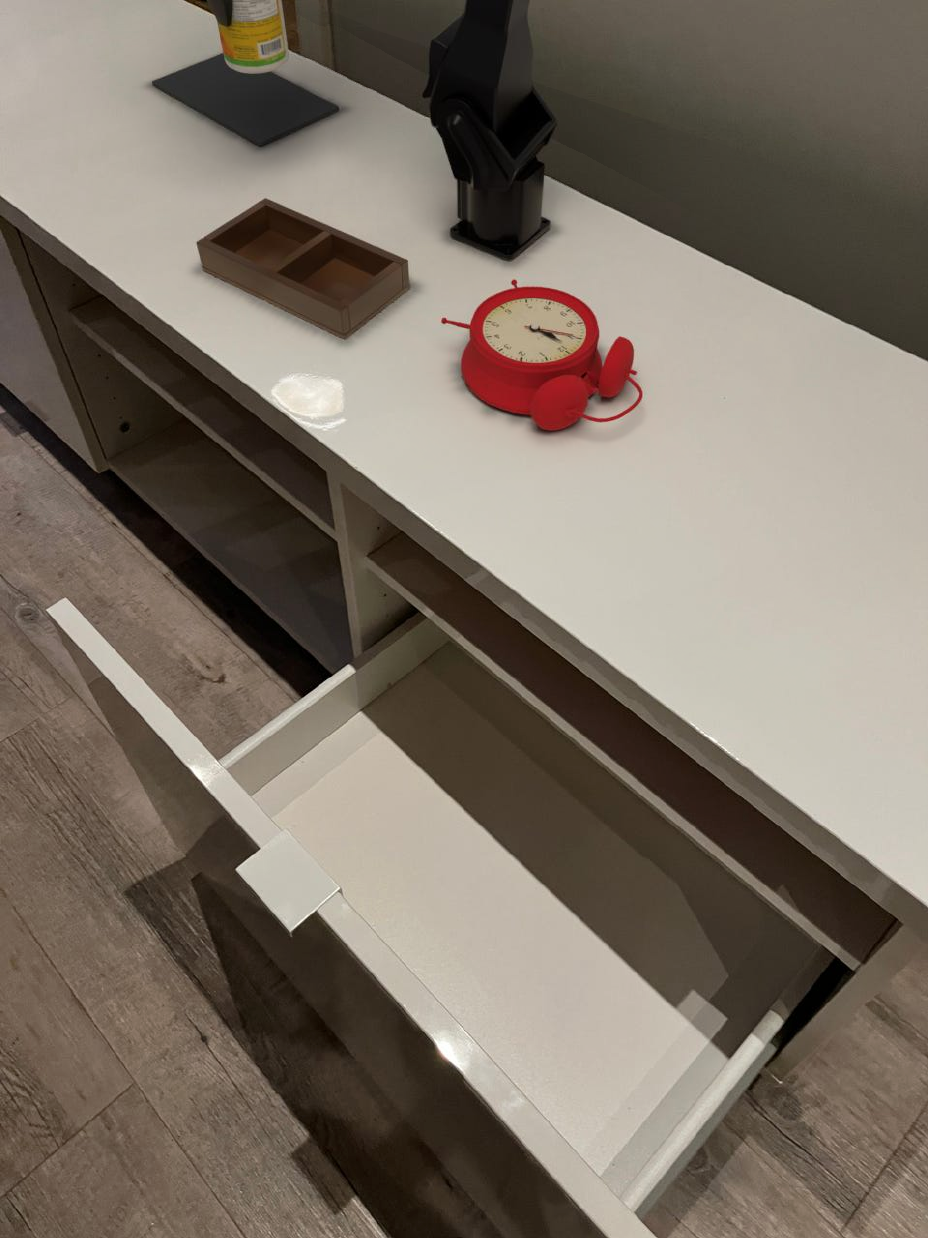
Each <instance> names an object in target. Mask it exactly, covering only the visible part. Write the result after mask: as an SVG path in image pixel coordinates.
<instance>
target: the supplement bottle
mask: <svg viewBox="0 0 928 1238" xmlns="http://www.w3.org/2000/svg"><path fill="white" fill-rule="evenodd" d="M232 3H233V9H232V24H231V26H229V27H225V26H223V25H220V24H219V23H218V21H217V20H216V24H217V28H218V33H219V39H220V43H221V48H222V53H223V54H224V58H225V61H226V63H227V65H228V66H229V67H230V68H232V69H234V70H235V71H238V72H241V73H249V74H257V73H265V72H270V71H271V72H273V71H276V70H278V69H280V68H282V67H283V66H285V65H286V64H287V62H288V60H289V58H290V50H289V43H288V35H287V28H286V23H285V15H284V8H283V7H284V6H283V0H232Z"/></svg>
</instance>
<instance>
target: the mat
mask: <svg viewBox="0 0 928 1238" xmlns="http://www.w3.org/2000/svg"><path fill="white" fill-rule="evenodd" d="M151 85H152V86H153V87H155V88H156V89H158V90H160V91H162V92H164V93H165V94H167V95H169V96H171V97H172V98H173V99H176V100H177V101H179V102H181V103H182V104H184V105H186V106H188V107H190V108H191V109H193V110H194V111H196V112H198V113H200V114H201V115H203V116H205V117H207V118H208V119H210V120H211V121H214V122H216V123H218V124H219V125H221V126H223V127H225V128H226V129H228V130H230V131H232V132H233V133H235V134H236V135H239V136H240V137H242V138H244V139H246V140H247V141H249V142H251V143H253V144H254V145H256V146H257V147H260V148H261V147H263V146H266V145H267V144H271V143H272V142H274V141H276V140H278V139H280V138H281V139H282V138H284V137H285V136H287V135H290V134H292V133H294V132H297V131H298V130H300V129H302V128H305V127H307V126H309V125H311V124H313V123H315V122H317V121H320V120H322V119H324V118H326V117H328V116H331V115H333V114H335V113H337V112H339V111H340V106H338V105H336V104H335V103H333V102H331V101H329V100H328V99H325V98H323V97H321V96H319V95H317V94H316V93H313V92H311V91H310V90H308V89H306V88H304V87H302V86H300V85H297V84H296V83H294V82H292V81H291V80H288V79H286V78H284V77H282V76H280V75H279V74H277V73H275V72H273V71H270V72H265V73H257V74H249V73H241V72H238V71H235V70H234V69H232V68H230V67H229V66H228V65H227V63H226V61H225V58H224V54H223V52H222V53H220V54H216V55H214V56H212V57H209V58H207V59H204V60H201V61H199V62H197V63H194V64H192V65H189V66H187V67H184V68H181V69H179V70H177V71H174V72H172V73H169V74H167V75H164V76H162V77H159V78H156V79H155V80H152V81H151Z"/></svg>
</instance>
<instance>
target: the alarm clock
mask: <svg viewBox="0 0 928 1238" xmlns="http://www.w3.org/2000/svg"><path fill="white" fill-rule="evenodd" d="M510 284H511V285H512V286H513V288H508V289H505V290H501V291H499V292H496V293H495V294H493V295H490V296H489V297H487V298H486V299H485V300H483V301H481V303H480V304H479V305H478V306H477V308H476V309H475V310H474V312H473V315H472V317H471V320H470V323H469V324H468V323H464V322H460V321H454V320H448V319H447V317H442V318H441V321H440V323H441V324H442V325H446V324H449V325H453V326H456V327H458V328H462V329H467V330H468V331H469V341H468V342H467V344H466V345H465V347H464V349H463V352H462V355H461V362H460V364H461V365H460V369H461V374H462V378H463V380H464V382H465V384H466V386H467V387H468V389H469V390H470V391H471V392H472V393H473V394H474V395H475V396H476V397H478V399H480V400H481V401H483V402H485V403H486V404H487V405H490V406H492V407H495V408H497V409H499V410H502V411H506V412H510V413H513V414H520V415H530V417H531V419H532V420H533V422H534V424H535V425H536V426H538V427H539V429H542V430H546V431H551V432H552V431H559V430H563V429H565V428H568V427H569V426H572V425H573V424H575V423H576V422H577V421H578V420H579V419H580V418H583V419H585V420H587V421H590V422H595V423H607V422H612V421H615V420H618V419H620V418H622V417H625V416H626V415H627V414H629V413H631V412H632V411H633V410H634V409H635V408H636V407H638V405H639V404H640V402H642V399H643V396H644V395H643V394H644V393H643V390H642V387H641V386H640V384H638V383H637V382H636V381H635V380H634V379H633V378H631V376H630V375H633V376H636V375H637V373H638V371H637V370H634V369H632V368H633V365H634V359H635V347H634V345H633V343H632V341H631V339H628V338H626V337H624V336H620V335H619V336H618V337H616V339H615V340H614V341H613V343H612V345H611V346H610V348H609V350H608V352H607V354H606V356H605V359H604V361H603V359H602V356H601V353H600V351H599V349H598V345H599V340H600V327H599V322H598V319H597V317H596V315H595V313H594V311H593V310H592V308H591V307H589V306H588V304H587V303H585V302H584V301H582V300H581V299H580V298H578V297H576V296H575V295H572V294H570V293H568V292H566V291H563V290H559V289H555V288H551V287H545V286H518V280H517V279H515V278H514V279H512V280H511V282H510ZM627 381H628V382H630V384H632V385H633V386H634V388H635V389H636V390H637V392H638V397H637V399H636V401H635V402H634V403H633V404H632V405H631V406H629V407H628V408H627V409H625V410H624V411H622V412H620V413H618V414H616V415H612V416H609V417H600V418H599V417H594V416H592V415H591V416H590V415H587V414H585V413H584V412H585V411H586V408H587V406H588V401H589V397H590V396H592V395H594V394H595V393H596V392H598V396H600V397H603V398H613V397H615V396H617V395H618V394H619V393H621V391H622V389H623V388H624V386H625V385H626V383H627Z"/></svg>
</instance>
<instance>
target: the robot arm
mask: <svg viewBox="0 0 928 1238" xmlns="http://www.w3.org/2000/svg"><path fill="white" fill-rule="evenodd" d="M206 3H207V4H208V6H209V8H210V10H211V11H212V14H213V16H214V17H215V20H216V22H217V21H218V23H219V24H220V25H223V26H225V27H229V26H231V24H232V9H233V3H232V0H206ZM529 6H530V0H464V6H463V12H462V13H461V14H460V15H459V16H457V18H455V19H454V20H452V22H450V23H449V24H448V25H447V26H446V27H445V28H443V30H442V31H441V32H439V33H438V34H437V35H435V37H434V38H433V39H431V41H430V43H429V44H430V45H429V51H428V69H429V70H428V72H429V73H428V79H427V83H426V86H425V88H424V90H423V92H422V94H421V96H422V98H423V99H429V104H428V116H429V120H430V124H431V127H433V128H434V129H435V130H436V132H437V133H438V134H437V135H439V137H440V139H441V141H442V142H441V143H442V144H443V148H444V151H445V154H446V157H447V160H448V163H449V167H450V169H451V172H452V176H453V178H454V179H455V180H456V213H457V214H456V216H457V219H459V221H457V223H455V224H454V225H453V226H451V227H450V228H449V236H450V237H452V239H455V240H458V241H461V242H463V243H466V244H468V245H469V246H473V247H475V248H478V249H480V250H483V251H485V252H487V253H490V254H491V255H494V256H497V257H499V258H502V259H504V260H507V261H508V260H513V259H514V258H516V257H517V256H518V255H519V254H520V253H521V252H523V251H524V250H526V248H528V246H530V245H531V244H533V243H534V242H535V241H536V240H538V239H539V238H540V237H542V235H543V234H544V233H545V232H547V231H548V230H549V229H551V223H552V222H551V221H552V220H550V219H548V218H547V217H543V216H542V214H543V213H542V212H543V211H542V210H543V199H544V186H545V185H544V184H545V170H546V163H545V162H543V161H540V160H538V157H537V155H538V154H539V153H540V152H541V151H542V149H543V148H544V147H546V146H547V145H548V144H549V143H550V141H551V139H552V136H553V134H554V132H555V129H556V128H557V126H558V119H557V118H556V116H555V115H554V114H553V112H552V111H551V109H550V108H549V107H548V105H547V103H546V102H545V101H544V99H543V98H542V96H541V95H540V94H539V92H538V90H537V89H536V88H535V86H534V84H533V83H532V81H533V66H534V65H533V64H534V61H533V60H534V47H533V41H532V36H531V31H530V28H529V27H530V26H529V21H528V14H529V13H528V12H529ZM218 23H217V24H218Z"/></svg>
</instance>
